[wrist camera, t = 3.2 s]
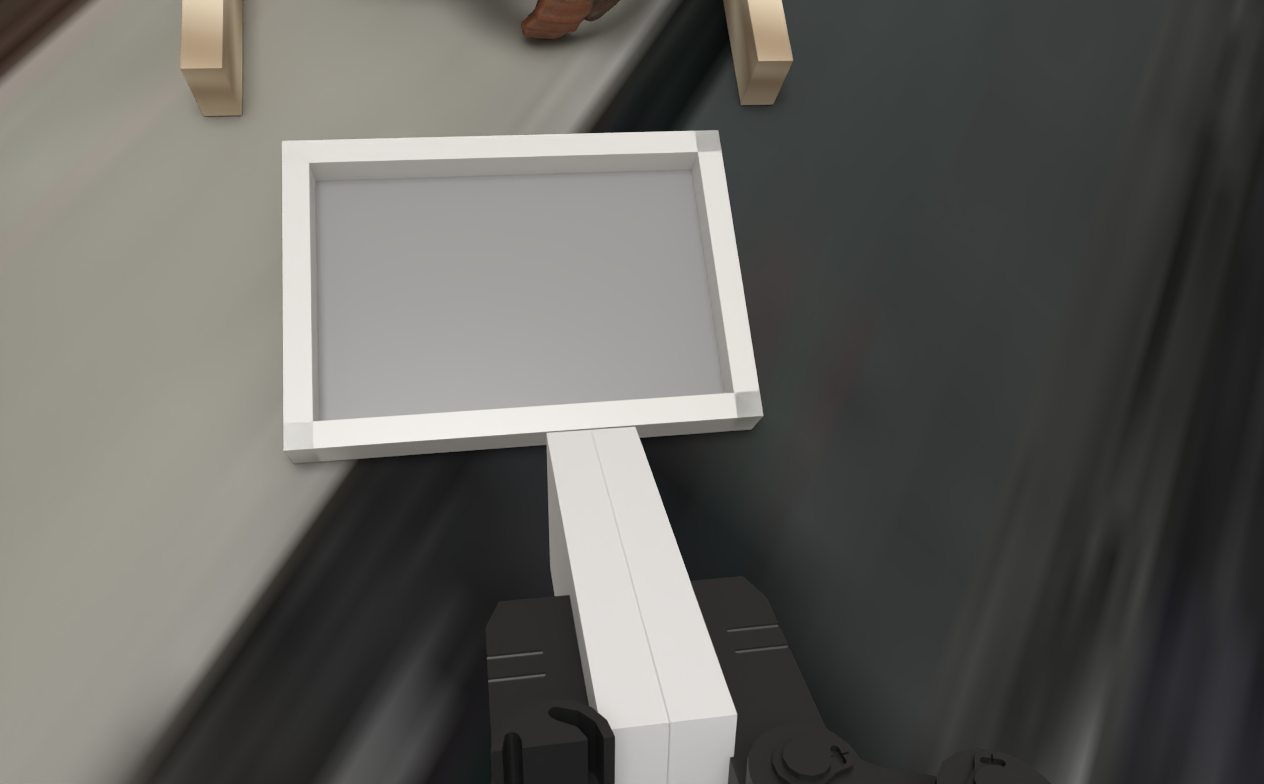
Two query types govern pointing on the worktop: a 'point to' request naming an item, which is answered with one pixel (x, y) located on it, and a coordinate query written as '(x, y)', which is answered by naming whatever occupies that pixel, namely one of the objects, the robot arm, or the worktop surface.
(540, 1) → the broken clay vessel
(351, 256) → the tray
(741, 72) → the guide channel
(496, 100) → the worktop surface
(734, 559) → the worktop surface
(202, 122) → the worktop surface
